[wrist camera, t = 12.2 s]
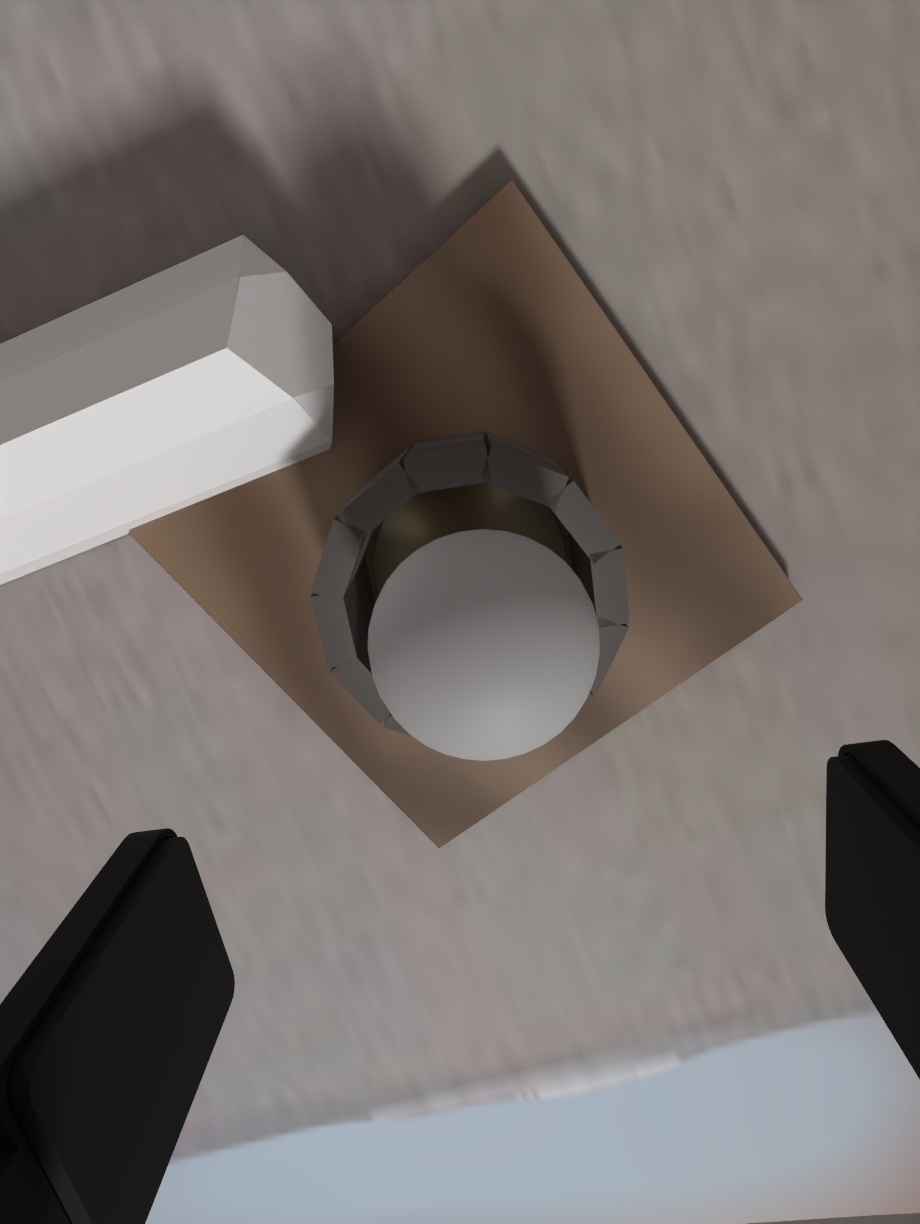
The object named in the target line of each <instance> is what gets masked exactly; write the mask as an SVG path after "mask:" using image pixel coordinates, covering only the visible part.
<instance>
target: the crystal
mask: <svg viewBox="0 0 920 1224" xmlns="http://www.w3.org/2000/svg"><path fill="white" fill-rule="evenodd" d="M239 278H240V280H239ZM238 283H239V285H238ZM237 289H238V290H237ZM236 294H237V296H236ZM235 300H236V301H235ZM234 305H235V306H234ZM233 311H234V312H233ZM232 316H233V317H232ZM230 327H231V328H230ZM227 343H228V344H227ZM250 365H251V366H250ZM254 368H255V369H254ZM258 371H259V372H258ZM262 374H263V375H262ZM266 377H267V378H266ZM270 380H271V381H270ZM274 383H275V384H276V385H275V384H274ZM278 386H279V387H280V388H279V387H278ZM282 389H283V390H284V391H283V390H282ZM286 392H287V393H288V394H287V393H286ZM290 395H291V396H292V397H291V396H290ZM333 399H334V370H333V343H332V324H331V323H330V322H329V321H328V319H327V318H326V317H325V316H324V315H323V314H322V312H321V311H320V310H319V309H318V308H317V307H316V305H315V304H314V303H313V302H312V301H311V300H310V298H309V297H308V296H307V295H306V294H305V293H304V291H303V290H302V289H301V288H300V287H299V285H298V284H297V283H296V282H295V281H294V280H293V278H292V277H291V276H290V275H289V274H288V273H287V272H286V271H285V270H284V269H283V268H282V267H281V266H279V265H278V264H277V263H276V262H275V261H274V260H272V259H271V258H270V257H269V256H268V255H266V254H265V253H264V252H263V251H262V250H261V249H259V248H258V247H257V246H256V245H255V244H254V243H252V242H251V241H250V240H249V239H248V238H246V237H245V236H244V235H241V236H239V237H237V238H235V239H232V240H230V241H228V242H226V243H223V244H221V245H219V246H217V247H215V248H212V249H210V250H208V251H206V252H203V253H201V254H199V255H197V256H195V257H192V258H190V259H188V260H186V261H183V262H181V263H179V264H177V265H175V266H172V267H170V268H168V269H166V270H163V271H161V272H159V273H157V274H155V275H152V276H150V277H148V278H146V279H143V280H141V281H139V282H137V283H134V284H132V285H130V286H128V287H126V288H123V289H121V290H119V291H117V292H114V293H112V294H110V295H108V296H106V297H103V298H101V299H99V300H97V301H94V302H92V303H90V304H88V305H86V306H83V307H81V308H79V309H77V310H74V311H72V312H70V313H68V314H66V315H63V316H61V317H59V318H57V319H54V320H52V321H50V322H48V323H46V324H43V325H41V326H39V327H37V328H34V329H32V330H30V331H28V332H26V333H23V334H21V335H19V336H17V337H14V338H12V339H10V340H8V341H6V342H3V343H1V344H0V585H1V584H4V583H6V582H9V581H11V580H14V579H16V578H19V577H21V576H24V575H26V574H29V573H31V572H34V571H36V570H39V569H41V568H44V567H46V566H49V565H51V564H54V563H56V562H59V561H61V560H64V559H66V558H69V557H71V556H74V555H76V554H79V553H81V552H84V551H86V550H89V549H91V548H94V547H96V546H99V545H101V544H104V543H106V542H109V541H111V540H114V539H116V538H119V537H121V536H124V535H126V534H129V533H128V532H129V531H130V530H131V529H133V528H135V527H137V526H140V525H142V524H145V523H147V522H150V521H152V520H155V519H157V518H160V517H162V516H165V515H167V514H170V513H172V512H175V511H177V510H180V509H182V508H185V507H187V506H190V505H192V504H195V503H197V502H200V501H202V500H204V499H207V498H209V497H212V496H214V495H217V494H219V493H222V492H224V491H227V490H229V489H232V488H234V487H237V486H239V485H242V484H244V483H247V482H249V481H252V480H254V479H257V478H259V477H262V476H264V475H267V474H269V473H272V472H274V471H277V470H279V469H282V468H284V467H287V466H289V465H292V464H294V463H297V462H299V461H302V460H304V459H307V458H309V457H312V456H314V455H316V454H319V453H321V452H324V451H326V450H329V449H330V448H331V444H332V430H333ZM298 403H299V404H300V405H301V406H300V405H299V404H298ZM308 414H309V415H310V416H311V417H310V416H309V415H308ZM319 426H320V427H321V428H320V427H319ZM329 441H330V442H329ZM324 443H325V444H324ZM282 460H283V461H282ZM277 462H278V463H277ZM272 464H273V465H272ZM267 466H268V467H267ZM262 468H263V469H262ZM257 470H258V471H257ZM252 472H253V473H252ZM210 489H211V490H210ZM205 491H206V492H205ZM200 493H201V494H200ZM195 495H196V496H195ZM190 497H191V498H190ZM185 499H186V500H185Z"/></svg>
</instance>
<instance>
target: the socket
mask: <svg viewBox="0 0 920 1224" xmlns="http://www.w3.org/2000/svg"><path fill="white" fill-rule="evenodd" d="M333 370H334V399H333V430H332V444H331V448H330V449H329V450H326V451H324V452H321V453H319V454H316V455H314V456H312V457H309V458H307V459H304V460H302V461H299V462H297V463H294V464H292V465H289V466H287V467H284V468H282V469H279V470H277V471H274V472H272V473H269V474H267V475H264V476H262V477H259V478H257V479H254V480H252V481H249V482H247V483H244V484H242V485H239V486H237V487H234V488H232V489H229V490H227V491H224V492H222V493H219V494H217V495H214V496H212V497H209V498H207V499H204V500H202V501H200V502H197V503H195V504H192V505H190V506H187V507H185V508H182V509H180V510H177V511H175V512H172V513H170V514H167V515H165V516H162V517H160V518H157V519H155V520H152V521H150V522H147V523H145V524H142V525H140V526H137V527H135V528H133V529H131V530H130V531H129V532H128V533H129V534H130V535H131V536H132V537H133V538H134V539H135V541H136V542H137V543H138V544H139V545H140V546H141V547H142V548H143V549H144V550H145V551H146V552H147V553H148V554H149V555H150V556H151V557H152V558H153V559H154V560H155V561H156V562H157V563H158V564H159V565H160V566H161V567H162V568H163V569H164V570H165V571H166V572H167V573H168V574H169V575H170V576H171V577H172V578H173V579H174V580H175V581H176V582H177V583H178V584H179V585H180V586H181V587H182V588H183V589H184V590H185V591H186V592H187V593H188V594H189V595H190V596H191V597H192V598H193V599H194V600H195V601H196V602H197V603H198V604H199V605H200V606H201V607H202V608H203V609H204V610H205V611H206V613H207V614H208V615H209V616H210V617H211V618H212V619H213V620H214V621H215V622H216V623H217V624H218V625H219V626H220V627H221V628H222V629H223V630H224V631H225V632H226V633H227V634H228V635H229V636H230V637H231V638H232V639H233V640H234V641H235V642H236V643H237V644H238V645H239V646H240V647H241V648H242V649H243V650H244V651H245V652H246V653H247V654H248V655H249V656H250V657H251V658H252V659H253V660H254V661H255V662H256V663H257V664H258V665H259V666H260V667H261V668H262V669H263V670H264V671H265V672H266V673H267V674H268V675H269V676H270V677H271V678H272V679H273V680H274V681H275V682H276V683H277V685H278V686H279V687H280V688H281V689H282V690H283V691H284V692H285V693H286V694H287V695H288V696H289V697H290V698H291V699H292V700H293V701H294V702H295V703H296V704H297V705H298V706H299V707H300V708H301V709H302V710H303V711H304V712H305V713H306V714H307V715H308V716H309V717H310V718H311V719H312V720H313V721H314V722H315V723H316V724H317V725H318V726H319V727H320V728H321V729H322V730H323V731H324V732H325V733H326V734H327V735H328V736H329V737H330V738H331V739H332V740H333V741H334V742H335V743H336V744H337V745H338V746H339V747H340V748H341V749H342V750H343V751H344V752H345V753H346V754H347V756H348V757H349V758H350V759H351V760H352V761H353V762H354V763H355V764H356V765H357V766H358V767H359V768H360V769H361V770H362V771H363V772H364V773H365V774H366V775H367V776H368V777H369V778H370V779H371V780H372V781H373V782H374V783H375V784H376V785H377V786H378V787H379V788H380V789H381V790H382V791H383V792H384V793H385V794H386V795H387V796H388V797H389V798H390V799H391V800H392V801H393V802H394V803H395V804H396V805H397V806H398V807H399V808H400V809H401V810H402V811H403V812H404V813H405V814H406V815H407V816H408V817H409V818H410V819H411V820H412V821H413V822H414V823H415V824H416V825H417V826H418V828H419V829H420V830H421V831H422V832H423V833H424V834H425V835H426V836H427V837H428V838H429V839H430V840H431V841H432V842H433V843H434V844H435V845H436V846H437V847H438V848H440V847H442V846H443V845H445V844H446V843H447V842H449V841H450V840H452V839H453V838H455V837H456V836H458V835H459V834H461V833H462V832H464V831H465V830H467V829H468V828H469V827H471V826H472V825H474V824H475V823H477V822H478V821H480V820H481V819H483V818H484V817H486V816H487V815H488V814H490V813H491V812H493V811H494V810H496V809H497V808H499V807H500V806H502V805H503V804H505V803H506V802H508V801H509V800H510V799H512V798H513V797H515V796H516V795H518V794H519V793H521V792H522V791H524V790H525V789H527V788H528V787H529V786H531V785H532V784H534V783H535V782H537V781H538V780H540V779H541V778H543V777H544V776H546V775H547V774H548V773H550V772H551V771H553V770H554V769H556V768H557V767H559V766H560V765H562V764H563V763H565V762H566V761H568V760H569V759H570V758H572V757H573V756H575V755H576V754H578V753H579V752H581V751H582V750H584V749H585V748H587V747H588V746H589V745H591V744H592V743H594V742H595V741H597V740H598V739H600V738H601V737H603V736H604V735H606V734H607V733H609V732H610V731H611V730H613V729H614V728H616V727H617V726H619V725H620V724H622V723H623V722H625V721H626V720H628V719H629V718H630V717H632V716H633V715H635V714H636V713H638V712H639V711H641V710H642V709H644V708H645V707H647V706H648V705H650V704H651V703H652V702H654V701H655V700H657V699H658V698H660V697H661V696H663V695H664V694H666V693H667V692H669V691H670V690H671V689H673V688H674V687H676V686H677V685H679V684H680V683H682V682H683V681H685V680H686V679H688V678H689V677H691V676H692V675H693V674H695V673H696V672H698V671H699V670H701V669H702V668H704V667H705V666H707V665H708V664H710V663H711V662H712V661H714V660H715V659H717V658H718V657H720V656H721V655H723V654H724V653H726V652H727V651H729V650H730V649H731V648H733V647H734V646H736V645H737V644H739V643H740V642H742V641H743V640H745V639H746V638H748V637H749V636H751V635H752V634H753V633H755V632H756V631H758V630H759V629H761V628H762V627H764V626H765V625H767V624H768V623H770V622H771V621H772V620H774V619H775V618H777V617H778V616H780V615H781V614H783V613H784V612H786V611H787V610H789V609H790V608H792V607H793V606H794V605H796V604H797V603H799V602H800V601H802V600H803V599H802V598H801V596H800V595H799V593H798V592H797V590H796V589H795V588H794V586H793V585H792V583H791V582H790V580H789V579H788V577H787V576H786V575H785V573H784V572H783V570H782V569H781V567H780V566H779V564H778V563H777V562H776V560H775V559H774V557H773V556H772V554H771V553H770V552H769V550H768V549H767V547H766V546H765V544H764V543H763V541H762V540H761V539H760V537H759V536H758V534H757V533H756V531H755V530H754V528H753V527H752V526H751V524H750V523H749V521H748V520H747V518H746V517H745V515H744V514H743V513H742V511H741V510H740V508H739V507H738V505H737V504H736V502H735V501H734V500H733V498H732V497H731V495H730V494H729V492H728V491H727V489H726V488H725V487H724V485H723V484H722V482H721V481H720V479H719V478H718V476H717V475H716V474H715V472H714V471H713V469H712V468H711V466H710V465H709V463H708V462H707V461H706V459H705V458H704V456H703V455H702V453H701V452H700V450H699V449H698V448H697V446H696V445H695V443H694V442H693V440H692V439H691V438H690V436H689V435H688V433H687V432H686V430H685V429H684V427H683V426H682V425H681V423H680V422H679V420H678V419H677V417H676V416H675V414H674V413H673V412H672V410H671V409H670V407H669V406H668V404H667V403H666V401H665V400H664V399H663V397H662V396H661V394H660V393H659V391H658V390H657V388H656V387H655V386H654V384H653V383H652V381H651V380H650V378H649V377H648V375H647V374H646V373H645V371H644V370H643V368H642V367H641V365H640V364H639V362H638V361H637V360H636V358H635V357H634V355H633V354H632V352H631V351H630V349H629V348H628V347H627V345H626V344H625V342H624V341H623V339H622V338H621V336H620V335H619V334H618V332H617V331H616V329H615V328H614V326H613V325H612V324H611V322H610V321H609V319H608V318H607V316H606V315H605V313H604V312H603V311H602V309H601V308H600V306H599V305H598V303H597V302H596V300H595V299H594V298H593V296H592V295H591V293H590V292H589V290H588V289H587V287H586V286H585V285H584V283H583V282H582V280H581V279H580V277H579V276H578V274H577V273H576V272H575V270H574V269H573V267H572V266H571V264H570V263H569V261H568V260H567V259H566V257H565V256H564V254H563V253H562V251H561V250H560V248H559V247H558V246H557V244H556V243H555V241H554V240H553V238H552V237H551V235H550V234H549V233H548V231H547V230H546V228H545V227H544V225H543V224H542V222H541V221H540V220H539V218H538V217H537V215H536V214H535V212H534V211H533V210H532V208H531V207H530V205H529V204H528V202H527V201H526V199H525V198H524V197H523V195H522V194H521V192H520V191H519V189H518V188H517V186H516V185H515V184H514V182H513V181H512V180H511V181H510V182H509V183H508V184H507V185H506V186H505V187H503V188H502V189H501V190H500V191H499V192H498V193H497V194H496V195H495V196H494V197H493V198H491V199H490V200H489V201H488V202H487V203H486V204H485V205H484V206H483V207H482V208H481V209H480V210H478V211H477V212H476V213H475V214H474V215H473V216H472V217H471V218H470V219H469V220H468V221H466V222H465V223H464V224H463V225H462V226H461V227H460V228H459V229H458V230H457V231H456V232H455V233H453V234H452V235H451V236H450V237H449V238H448V239H447V240H446V241H445V242H444V243H443V244H441V245H440V246H439V247H438V248H437V249H436V250H435V251H434V252H433V253H432V254H431V255H429V256H428V257H427V258H426V259H425V260H424V261H423V262H422V263H421V264H420V265H419V266H418V267H416V268H415V269H414V270H413V271H412V272H411V273H410V274H409V275H408V276H407V277H406V278H404V279H403V280H402V281H401V282H400V283H399V284H398V285H397V286H396V287H395V288H394V289H393V290H391V291H390V292H389V293H388V294H387V295H386V296H385V297H384V298H383V299H382V300H381V301H379V302H378V303H377V304H376V305H375V306H374V307H373V308H372V309H371V310H370V311H369V312H367V313H366V314H365V315H364V316H363V317H362V318H361V319H360V320H359V321H358V322H357V323H356V324H354V325H353V326H352V327H351V328H350V329H349V330H348V331H347V332H346V333H345V334H344V335H342V336H341V337H340V338H339V339H338V340H337V341H336V342H335V343H334V344H333ZM283 391H284V390H283ZM286 393H287V392H286ZM287 394H288V393H287ZM290 396H291V395H290ZM291 397H292V396H291ZM298 404H299V403H298ZM299 405H300V404H299ZM300 406H301V405H300ZM308 415H309V414H308ZM309 416H310V415H309ZM310 417H311V416H310ZM319 427H320V426H319ZM320 428H321V427H320ZM329 442H330V441H329ZM324 444H325V443H324ZM282 461H283V460H282ZM277 463H278V462H277ZM272 465H273V464H272ZM267 467H268V466H267ZM262 469H263V468H262ZM257 471H258V470H257ZM252 473H253V472H252ZM210 490H211V489H210ZM205 492H206V491H205ZM200 494H201V493H200ZM195 496H196V495H195ZM190 498H191V497H190ZM185 500H186V499H185ZM479 529H486V530H498V531H507V532H511V533H514V534H518V535H521V536H525V537H528V538H530V539H532V540H534V541H536V542H538V543H540V544H542V545H544V546H545V547H547V548H549V549H550V550H551V551H553V552H554V553H555V554H556V555H558V556H559V557H560V558H561V559H563V560H564V561H565V562H566V563H567V564H568V565H569V567H570V568H571V569H572V570H573V571H574V573H575V574H576V575H577V576H578V578H579V579H580V580H581V582H582V584H583V586H584V588H585V590H586V592H587V594H588V596H589V598H590V599H591V601H592V603H593V606H594V610H595V614H596V617H597V621H598V625H599V642H600V654H599V660H598V667H597V673H596V677H595V679H594V682H593V685H592V687H591V690H590V692H589V695H588V697H587V699H586V701H585V702H584V704H583V705H582V707H581V709H580V710H579V712H578V713H577V715H576V716H575V718H574V719H573V720H572V721H571V722H570V723H569V724H568V725H567V726H566V727H565V729H564V730H563V731H562V732H561V733H559V734H558V735H557V736H555V737H554V738H552V739H551V740H550V741H548V742H547V743H545V744H544V745H542V746H540V747H538V748H536V749H534V750H532V751H529V752H527V753H525V754H522V755H518V756H514V757H511V758H507V759H499V760H489V761H480V760H467V759H461V758H457V757H453V756H450V755H446V754H443V753H441V752H438V751H436V750H434V749H432V748H430V747H428V746H426V745H424V744H423V743H421V742H420V741H418V740H417V739H416V738H414V737H413V736H411V735H410V734H409V733H408V732H407V731H406V730H405V729H404V728H403V727H402V726H401V725H400V724H399V723H398V722H397V721H396V720H395V719H394V717H393V716H392V714H391V713H390V711H389V710H388V708H387V707H386V705H385V704H384V702H383V700H382V699H381V697H380V695H379V693H378V690H377V688H376V685H375V683H374V680H373V677H372V672H371V666H370V660H369V654H368V630H369V624H370V621H371V617H372V613H373V609H374V606H375V603H376V601H377V599H378V597H379V595H380V593H381V591H382V589H383V587H384V585H385V583H386V581H387V580H388V578H389V577H390V576H391V575H392V573H393V572H394V571H395V570H396V568H397V567H398V566H399V565H400V563H402V562H403V561H404V560H405V559H406V558H408V557H409V556H410V555H411V554H412V553H414V552H415V551H416V550H417V549H419V548H421V547H423V546H425V545H426V544H428V543H430V542H432V541H434V540H436V539H438V538H441V537H444V536H447V535H451V534H454V533H457V532H461V531H470V530H479Z"/></svg>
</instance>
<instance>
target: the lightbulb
mask: <svg viewBox="0 0 920 1224" xmlns="http://www.w3.org/2000/svg"><path fill="white" fill-rule="evenodd" d="M368 654H369V660H370V666H371V672H372V677H373V680H374V683H375V685H376V688H377V690H378V693H379V695H380V697H381V699H382V700H383V702H384V704H385V705H386V707H387V708H388V710H389V711H390V713H391V714H392V716H393V717H394V719H395V720H396V721H397V722H398V723H399V724H400V725H401V726H402V727H403V728H404V729H405V730H406V731H407V732H408V733H409V734H410V735H411V736H413V737H414V738H416V739H417V740H418V741H420V742H421V743H423V744H424V745H426V746H428V747H430V748H432V749H434V750H436V751H438V752H441V753H443V754H446V755H450V756H453V757H457V758H461V759H467V760H480V761H489V760H499V759H507V758H511V757H514V756H518V755H522V754H525V753H527V752H529V751H532V750H534V749H536V748H538V747H540V746H542V745H544V744H545V743H547V742H548V741H550V740H551V739H552V738H554V737H555V736H557V735H558V734H559V733H561V732H562V731H563V730H564V729H565V727H566V726H567V725H568V724H569V723H570V722H571V721H572V720H573V719H574V718H575V716H576V715H577V713H578V712H579V710H580V709H581V707H582V705H583V704H584V702H585V701H586V699H587V697H588V695H589V692H590V690H591V687H592V685H593V682H594V679H595V677H596V673H597V667H598V660H599V654H600V642H599V625H598V621H597V617H596V614H595V610H594V606H593V603H592V601H591V599H590V598H589V596H588V594H587V592H586V590H585V588H584V586H583V584H582V582H581V580H580V579H579V578H578V576H577V575H576V574H575V573H574V571H573V570H572V569H571V568H570V567H569V565H568V564H567V563H566V562H565V561H564V560H563V559H561V558H560V557H559V556H558V555H556V554H555V553H554V552H553V551H551V550H550V549H549V548H547V547H545V546H544V545H542V544H540V543H538V542H536V541H534V540H532V539H530V538H528V537H525V536H521V535H518V534H514V533H511V532H507V531H498V530H486V529H479V530H470V531H461V532H457V533H454V534H451V535H447V536H444V537H441V538H438V539H436V540H434V541H432V542H430V543H428V544H426V545H425V546H423V547H421V548H419V549H417V550H416V551H415V552H414V553H412V554H411V555H410V556H409V557H408V558H406V559H405V560H404V561H403V562H402V563H400V565H399V566H398V567H397V568H396V570H395V571H394V572H393V573H392V575H391V576H390V577H389V578H388V580H387V581H386V583H385V585H384V587H383V589H382V591H381V593H380V595H379V597H378V599H377V601H376V603H375V606H374V609H373V613H372V617H371V621H370V624H369V630H368Z"/></svg>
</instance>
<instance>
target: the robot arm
mask: <svg viewBox="0 0 920 1224" xmlns="http://www.w3.org/2000/svg"><path fill="white" fill-rule="evenodd" d="M825 911H826V918H827V922H828V926H829V929H830V931H831V934H832V936H833V938H834V940H835V941H836V943H837V945H838V946H839V948H840V950H841V951H842V953H843V955H844V956H845V958H846V959H847V961H848V963H849V964H850V966H851V968H852V969H853V971H854V973H855V974H856V976H857V977H858V979H859V981H860V982H861V984H862V986H863V987H864V989H865V991H866V992H867V994H868V995H869V997H870V999H871V1000H872V1002H873V1004H874V1005H875V1007H876V1009H877V1010H878V1012H879V1013H880V1015H881V1017H882V1018H883V1020H884V1022H885V1023H886V1025H887V1027H888V1028H889V1030H890V1031H891V1033H892V1035H893V1036H894V1038H895V1039H896V1041H897V1043H898V1044H899V1046H900V1048H901V1049H902V1051H903V1053H904V1054H905V1056H906V1057H907V1059H908V1061H909V1062H910V1064H911V1066H912V1067H913V1069H914V1070H915V1072H916V1074H917V1076H918V1077H919V1079H920V768H919V767H918V766H917V765H916V764H915V763H914V762H912V761H911V760H910V759H909V758H908V757H907V756H906V755H905V754H904V753H903V752H902V751H901V750H900V749H898V748H897V747H896V746H895V745H894V744H893V743H891V742H890V741H887V740H880V741H872V742H864V743H856V744H848V745H843V746H842V747H841V748H840V750H839V753H838V756H837V757H831V758H830V759H829V760H828V762H827V794H826V890H825ZM234 985H235V981H234V974H233V970H232V967H231V964H230V961H229V958H228V955H227V953H226V950H225V947H224V944H223V941H222V938H221V935H220V932H219V930H218V927H217V924H216V921H215V918H214V915H213V912H212V909H211V907H210V904H209V901H208V898H207V895H206V892H205V889H204V886H203V883H202V881H201V878H200V875H199V872H198V869H197V866H196V863H195V860H194V858H193V855H192V852H191V849H190V846H189V844H188V842H187V840H186V839H185V838H184V837H177V835H176V833H175V832H174V831H173V830H171V829H168V828H167V829H159V830H151V831H143V832H135V833H131V834H129V835H128V836H127V837H126V838H125V839H124V840H123V841H122V843H121V844H120V845H119V847H118V848H117V849H116V851H115V852H114V853H113V855H112V856H111V857H110V859H109V860H108V861H107V863H106V864H105V865H104V867H103V868H102V869H101V871H100V872H99V873H98V875H97V876H96V877H95V879H94V880H93V881H92V883H91V884H90V885H89V887H88V888H87V889H86V891H85V892H84V893H83V895H82V896H81V897H80V899H79V900H78V901H77V903H76V904H75V905H74V907H73V908H72V909H71V911H70V912H69V913H68V915H67V916H66V917H65V919H64V920H63V921H62V923H61V924H60V925H59V927H58V928H57V929H56V931H55V932H54V933H53V935H52V936H51V937H50V939H49V940H48V941H47V943H46V944H45V946H44V947H43V948H42V950H41V951H40V952H39V954H38V955H37V956H36V958H35V959H34V960H33V962H32V963H31V964H30V966H29V967H28V968H27V970H26V971H25V972H24V974H23V975H22V976H21V978H20V979H19V980H18V982H17V983H16V984H15V986H14V987H13V988H12V990H11V991H10V992H9V994H8V995H7V996H6V998H5V999H4V1000H3V1002H2V1003H1V1004H0V1224H145V1222H146V1220H147V1217H148V1215H149V1212H150V1210H151V1207H152V1204H153V1202H154V1199H155V1197H156V1194H157V1192H158V1189H159V1186H160V1184H161V1181H162V1179H163V1176H164V1174H165V1171H166V1169H167V1166H168V1163H169V1161H170V1158H171V1156H172V1153H173V1151H174V1148H175V1146H176V1143H177V1140H178V1138H179V1135H180V1133H181V1130H182V1128H183V1125H184V1122H185V1120H186V1117H187V1115H188V1112H189V1110H190V1107H191V1104H192V1102H193V1099H194V1097H195V1094H196V1092H197V1089H198V1087H199V1084H200V1081H201V1079H202V1076H203V1074H204V1071H205V1069H206V1066H207V1063H208V1061H209V1058H210V1056H211V1053H212V1051H213V1048H214V1046H215V1043H216V1040H217V1038H218V1035H219V1033H220V1030H221V1028H222V1025H223V1022H224V1020H225V1017H226V1015H227V1012H228V1010H229V1007H230V1004H231V1002H232V999H233V994H234ZM749 1224H920V1213H914V1214H894V1215H893V1214H892V1215H874V1216H873V1215H872V1216H858V1217H842V1218H827V1219H811V1220H797V1221H796V1220H795V1221H781V1222H765V1223H749Z"/></svg>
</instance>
